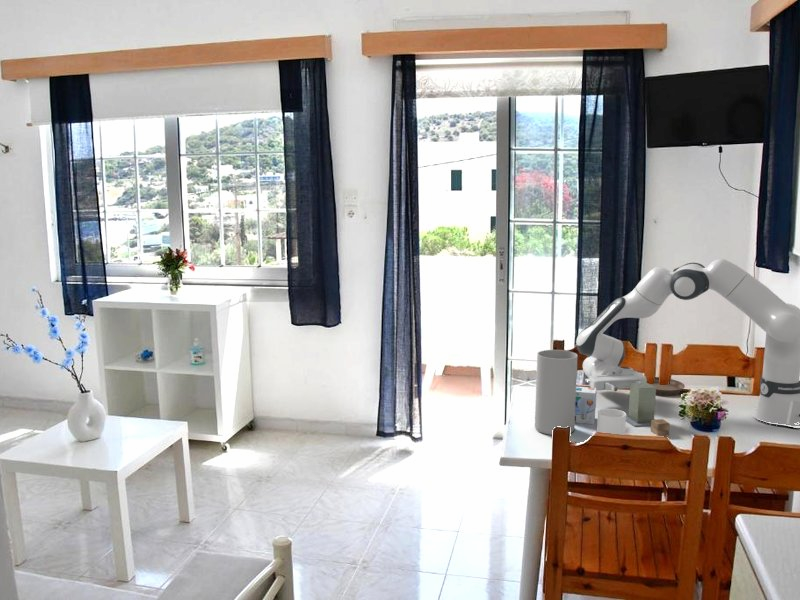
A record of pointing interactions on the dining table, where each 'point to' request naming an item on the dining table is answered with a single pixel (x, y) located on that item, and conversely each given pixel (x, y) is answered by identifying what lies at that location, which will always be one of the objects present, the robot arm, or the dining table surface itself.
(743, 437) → the dining table surface
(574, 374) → the cylinder vase
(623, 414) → the cup
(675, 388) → the plant saucer
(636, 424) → the slate mat
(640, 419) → the sage green pillar
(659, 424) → the walnut block
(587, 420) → the light bulb box
